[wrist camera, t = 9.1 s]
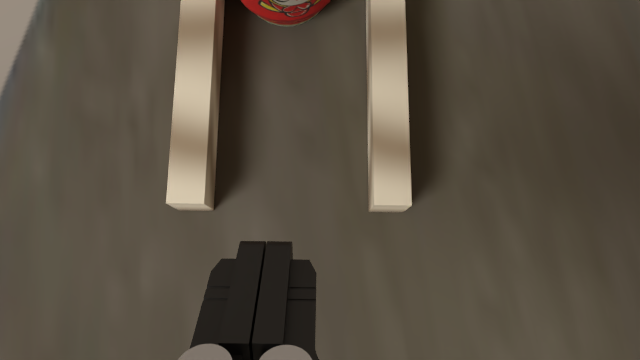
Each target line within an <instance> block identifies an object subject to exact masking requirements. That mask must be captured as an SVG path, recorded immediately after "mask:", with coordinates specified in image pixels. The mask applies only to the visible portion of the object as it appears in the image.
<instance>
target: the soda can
mask: <svg viewBox="0 0 640 360" xmlns="http://www.w3.org/2000/svg"><path fill="white" fill-rule="evenodd" d="M330 1H331V0H241V2H242V3H243V4H244V5H245V7H247V8H248V9H249V10H250V11H252V12H253V13H255V14H256V15H257V16H258V17H260V18H261V19H263V20H265V21H266V22H269V23H271V24H274V25H279V26H296V25H300V24H303V23H305V22H307V21H309V20H310V19H312V18H314V17H315V16H316V15H317V14H318V13H319V12H320V11H321V10H322V9H323V8H324V7H325V6H326V5H327V4H328V3H329V2H330Z"/></svg>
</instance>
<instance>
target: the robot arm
mask: <svg viewBox="0 0 640 360" xmlns="http://www.w3.org/2000/svg"><path fill="white" fill-rule="evenodd" d="M315 320H316V272H315V270H314V268H313V266H312V264H311V262H310V260H293V253H292V242H275V241H268V242H267V245H266V242H265V241H241V242H240V244H239V249H238V253H237V258H236V259H221V260H220V261H219V263H218V264H217V265H216V266H215V267H214V268H213V270H212V271H211V273H210V277H209V281H208V284H207V289H206V292H205V295H204V301H203V303H202V306H201V310H200V314H199V317H198V321H197V324H196V328H195V332H194V335H193V339H192V343H191V346H190V348H189V350H187V351H186V352H185V353H184V354H183V355H182V356H181V357H180V358H179V359H178V360H319V359H318V357H317V355H316V351H315Z"/></svg>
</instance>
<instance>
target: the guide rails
mask: <svg viewBox="0 0 640 360" xmlns="http://www.w3.org/2000/svg"><path fill="white" fill-rule="evenodd" d="M224 5H225V0H181V7H180V21H179V35H178V48H177V62H176V75H175V89H174V103H173V116H172V130H171V143H170V157H169V171H168V184H167V198H166V203H167V204H168V205H170V206H172V207H174V208H176V209H178V210H214V195H215V176H216V157H217V138H218V119H219V100H220V81H221V62H222V43H223V24H224ZM366 46H367V117H368V187H369V212H404V211H405V210H407V209H408V208H409V207H411V206H412V196H411V165H410V135H409V104H408V74H407V43H406V12H405V0H366Z"/></svg>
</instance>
